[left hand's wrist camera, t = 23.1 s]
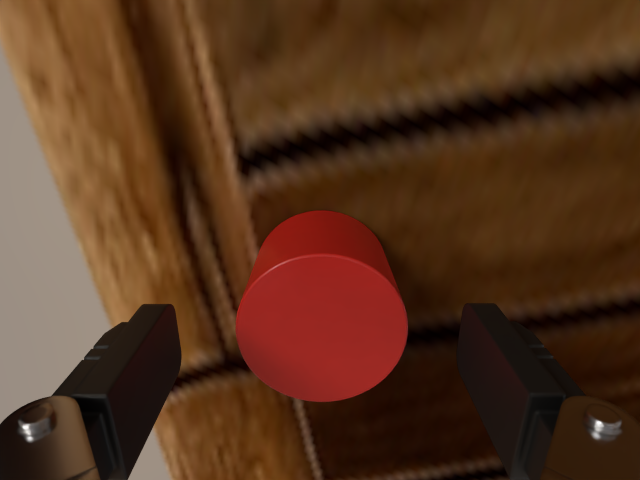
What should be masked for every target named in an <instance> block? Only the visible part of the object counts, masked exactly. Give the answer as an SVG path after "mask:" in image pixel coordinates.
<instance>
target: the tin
mask: <svg viewBox="0 0 640 480" xmlns="http://www.w3.org/2000/svg"><path fill="white" fill-rule="evenodd" d="M407 336H408V319H407V313H406V309H405V305H404V303H403V300H402V298H401V295H400V292H399V290H398V287H397V284H396V282H395V279H394V277H393V274H392V271H391V269H390V266H389V264H388V261H387V258H386V256H385V253H384V251H383V248H382V246H381V244H380V242H379V241H378V239H377V238H376V236H375V235H374V234H373V233H372V231H371V230H369V229H368V228H367V227H366V226H365V225H364V224H362V223H361V222H359V221H358V220H356V219H354V218H352V217H350V216H348V215H345V214H342V213H338V212H334V211H324V210H322V211H310V212H305V213H301V214H298V215H295V216H293V217H291V218H289V219H287V220H285V221H284V222H282V223H281V224H279V225H278V226H277V227H276V228H275V229H274V230H273V231H272V232H271V233H270V234H269V235H268V237H267V238H266V239H265V241H264V243H263V244H262V246H261V248H260V251H259V254H258V256H257V259H256V262H255V265H254V267H253V270H252V273H251V275H250V278H249V281H248V283H247V286H246V289H245V291H244V294H243V297H242V300H241V302H240V305H239V308H238V311H237V317H236V337H237V342H238V346H239V349H240V351H241V354H242V356H243V358H244V360H245V362H246V363H247V365H248V366H249V368H250V369H251V370H252V371H253V373H254V374H255V375H256V376H257V377H258V378H259V379H260V380H262V381H263V382H264V383H265V384H267V385H268V386H269V387H271V388H273V389H275V390H276V391H278V392H280V393H282V394H285V395H287V396H290V397H293V398H297V399H301V400H306V401H315V402H330V401H338V400H343V399H347V398H351V397H354V396H356V395H359V394H361V393H363V392H365V391H367V390H369V389H371V388H372V387H374V386H376V385H377V384H378V383H380V382H381V381H382V380H383V379H384V378H386V376H387V375H388V374H389V373H390V372H391V371H392V370H393V369H394V367H395V366H396V364H397V363H398V361H399V359H400V357H401V355H402V353H403V351H404V348H405V345H406V341H407Z"/></svg>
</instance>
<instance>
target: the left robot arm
mask: <svg viewBox="0 0 640 480" xmlns="http://www.w3.org/2000/svg"><path fill="white" fill-rule="evenodd" d="M457 365H458V370H459V373H460V375H461V378H462V380H463V382H464V384H465V386H466V388H467V390H468V392H469V394H470V396H471V399H472V401H473V403H474V405H475V407H476V409H477V411H478V413H479V415H480V417H481V420H482V422H483V424H484V426H485V428H486V430H487V432H488V434H489V436H490V439H491V441H492V443H493V445H494V447H495V449H496V451H497V453H498V455H499V457H500V460H501V462H502V464H503V466H504V468H505V470H506V472H507V474H508V476H509V478H510V480H640V424H639V423H638V422H637V421H636V420H635V419H634V418H633V417H632V416H631V415H630V414H628V413H627V412H626V411H624V410H623V409H621V408H619V407H618V406H616V405H614V404H612V403H609V402H607V401H604V400H601V399H598V398H594V397H589V396H586V395H585V394H584V393H583V392H582V390H581V389H580V388H579V387H578V386H577V385H576V383H575V382H574V381H573V380H572V379H571V377H570V376H569V375H568V374H567V373H566V371H565V370H564V369H563V368H562V367H561V366H560V364H559V363H558V362H557V361H556V360H555V359H553V356H552V355H551V354H550V352H549V351H548V350H547V349H546V348H544V345H543V344H542V343H541V342H540V341H539V339H538V338H537V337H536V336H535V335H534V333H533V332H531V331H530V330H528V329H527V328H525V327H523V326H522V325H520V324H519V323H517V322H516V321H509V320H508V319H507V318H506V316H505V315H504V314H503V313H502V311H501V310H500V309H499V308H498V306H497V305H496V304H494V303H467V304H465V306H464V308H463V311H462V318H461V325H460V332H459V339H458V345H457ZM180 366H181V347H180V340H179V333H178V327H177V320H176V313H175V309H174V307H173V305H172V304H143V305H141V307H140V308H139V309H138V310H137V311H136V313H135V314H134V315H133V317H132V318H131V319H130V320H129V322H121V323H120V324H118V325H117V326H115V327H114V328H112V329H111V330H109V331H108V332H106V333H105V334H104V335H103V336H102V337H101V338H100V339H99V341H98V342H97V343H96V344H95V345H94V348H93V349H91V350H90V351H89V352H88V354H87V355H86V356H85V357H84V360H82V361H81V362H80V363H79V364H78V365H77V367H76V368H75V369H74V370H73V371H72V372H71V374H70V375H69V376H68V377H67V378H66V379H65V381H64V382H63V383H62V384H61V385H60V386H59V388H58V389H57V390H56V391H55V392H54V394H53V395H52V396H51V397H46V398H42V399H39V400H36V401H33V402H31V403H28V404H26V405H24V406H22V407H21V408H19V409H17V410H16V411H14V412H13V413H12V414H10V415H9V416H8V417H7V418H6V419H5V420H4V421H3V422H2V423H1V424H0V480H128V478H129V476H130V474H131V472H132V469H133V467H134V465H135V463H136V461H137V459H138V457H139V455H140V453H141V451H142V449H143V447H144V445H145V442H146V440H147V438H148V436H149V434H150V432H151V430H152V428H153V426H154V424H155V422H156V420H157V418H158V415H159V413H160V411H161V409H162V407H163V405H164V403H165V401H166V399H167V397H168V395H169V393H170V391H171V388H172V386H173V384H174V382H175V380H176V378H177V376H178V374H179V370H180Z"/></svg>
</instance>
